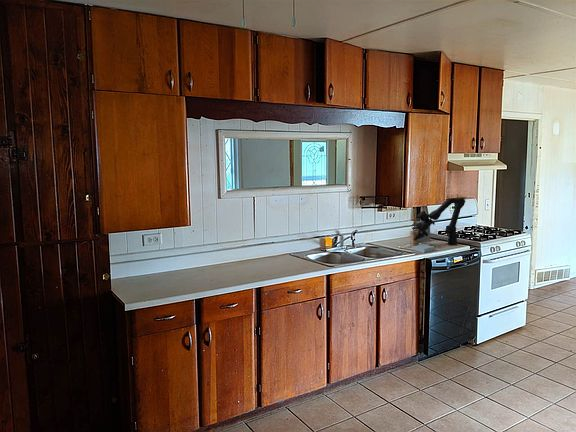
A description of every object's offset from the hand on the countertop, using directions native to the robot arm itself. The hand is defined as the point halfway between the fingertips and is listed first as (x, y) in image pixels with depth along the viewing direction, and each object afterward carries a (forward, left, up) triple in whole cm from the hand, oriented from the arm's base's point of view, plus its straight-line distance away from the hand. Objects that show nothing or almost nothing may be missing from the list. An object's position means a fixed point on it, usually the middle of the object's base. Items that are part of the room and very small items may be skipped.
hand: (413, 239), depth 378 cm
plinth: (-6, +12, -7) cm, 15 cm away
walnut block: (-1, 0, -7) cm, 7 cm away
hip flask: (-11, -23, -7) cm, 27 cm away
